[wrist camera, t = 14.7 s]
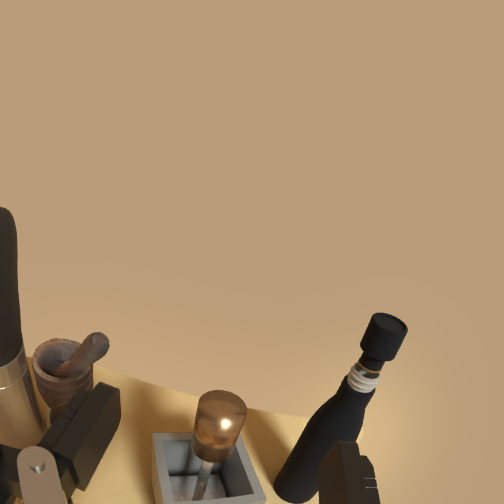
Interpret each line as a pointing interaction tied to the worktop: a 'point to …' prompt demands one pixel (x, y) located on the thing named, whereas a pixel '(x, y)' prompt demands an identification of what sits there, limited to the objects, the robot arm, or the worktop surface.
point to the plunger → (211, 445)
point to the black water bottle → (340, 410)
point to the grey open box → (188, 464)
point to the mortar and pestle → (66, 368)
